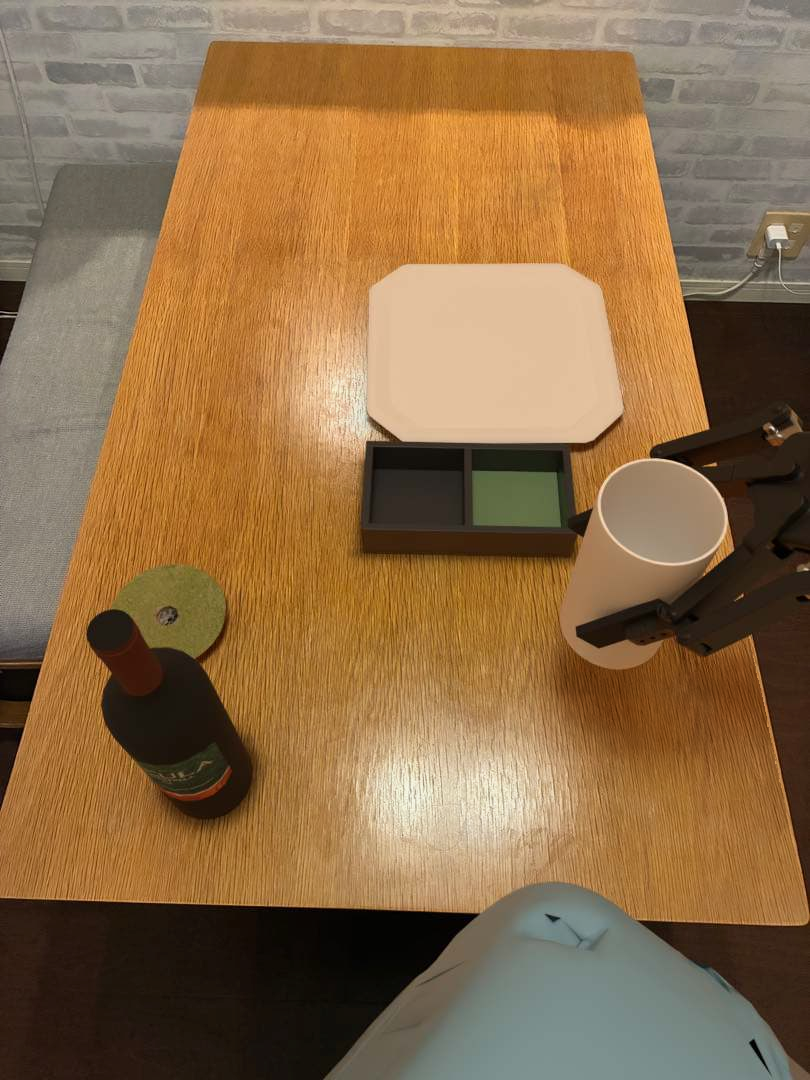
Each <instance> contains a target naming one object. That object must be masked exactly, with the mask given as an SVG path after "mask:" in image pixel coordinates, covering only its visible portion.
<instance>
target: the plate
mask: <svg viewBox="0 0 810 1080" xmlns="http://www.w3.org/2000/svg"><path fill="white" fill-rule="evenodd" d="M606 309H607V308H606V303H605V298H604V293H603V289H602V288H601V286H600V285H599V284H598V283H596V282H595V281H593V280H592V279H590V278H588V277H586V276H585V275H583V274H582V273H580V272H578V271H577V270H575V269H573V268H572V267H570V266H568V265H566V264H564V263H560V262H533V263H532V262H530V263H529V262H527V263H526V262H525V263H524V262H523V263H521V262H520V263H517V262H516V263H510V262H509V263H407V264H403V265H400V266H399V267H398V268H396V269H395V270H393V271H392V272H390V273H389V274H387V275H386V276H385V277H383V278H381V279H380V280H379V281H377V282H376V283H374V284H373V285H371V287H370V288H369V291H368V321H367V325H368V326H367V364H366V365H367V366H366V369H367V370H366V372H367V373H366V409H365V411H366V413H367V415H368V417H369V418H370V419H371V420H372V421H374V422H375V423H376V424H377V425H379V426H380V427H381V428H383V429H384V430H385V431H386V432H387V433H389V434H390V435H392V436H393V437H394V438H396V439H397V441H405V442H454V443H503V444H553V445H587V444H590V443H593V442H595V440H597V439H598V438H599V437H600V436H601V435H602V434H603V433H604V432H605V431H606V430H607V429H608V428H610V427H611V426H612V425H613V424H614V423H615V422H616V421H617V420H618V419H620V418H621V417H622V416H623V413H624V410H625V408H624V407H625V406H624V401H623V396H622V390H621V385H620V380H619V373H618V367H617V363H616V357H615V352H614V348H613V342H612V335H611V331H610V326H609V320H608V314H607V310H606Z"/></svg>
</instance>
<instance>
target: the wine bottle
mask: <svg viewBox="0 0 810 1080" xmlns="http://www.w3.org/2000/svg"><path fill="white" fill-rule="evenodd" d="M86 628H87V629H86V632H85V635H86V641H87V642H88V644H89V647H90V648H91V650H92V652H93V653H94V654H95V655H96V657H97V658H98V659H99V660H101V661H102V662H103V664H104V665H105V666H106V668H107V669H108V671H109V672H110V673H111V674H110V675H109V677H108V679H107V681H106V683H105V685H104V687H103V691H102V696H101V704H100V707H101V712H102V718H103V721H104V724H105V726H106V728H107V729H108V731H109V733H110V735H111V736H112V738H113V739H114V741H116V742H117V743H118V744H119V746H120V747H121V748H122V749H123V750H124V751H125V753H127V755H128V756H129V757H130V758H131V759H132V760H133V761H134V762H135V764H137V766H138V767H139V768H140V769H141V770H142V771H143V772H144V774H145V775H146V776H147V777H148V778H149V779H150V780H151V781H152V782H153V783H154V784H155V785H156V786H157V788H158V789H159V790H160V791H161V792H162V793H163V795H164V796H166V798H167V799H168V800H169V801H170V802H171V803H172V804H173V806H174V807H175V808H176V809H177V810H179V811H180V812H182V813H183V814H184V815H186V816H187V817H190V818H193V819H197V820H201V821H202V820H215V819H218V818H220V817H221V818H222V817H224V816H226V815H228V814H229V813H231V812H232V811H233V810H234V809H237V808H238V807H239V806H240V804H241V803H242V802H243V800H244V799H245V798H246V797H247V795H248V794H249V791H250V789H251V788H250V787H251V785H252V782H253V771H254V768H253V764H252V760H251V756H250V755H249V752H248V750H247V749H246V746H245V744H244V743H243V741H242V739H241V737H240V735H239V733H238V731H237V729H236V727H235V725H234V723H233V721H232V719H231V716H230V715H229V714H228V711H227V709H226V707H225V706H224V703H223V702H222V699H221V697H220V696H219V694H218V692H217V690H216V688H215V686H214V684H213V682H212V680H211V677H210V676H209V674H208V673H207V671H206V670H205V669H204V667H203V666H202V664H201V663H200V662H199V661H198V660H197V659H196V658H195V659H194V658H193V657H191V656H190V655H188V654H187V653H185V652H184V651H181V650H177V649H173V648H170V647H159V648H149V646H148V645H147V643H146V641H145V640H144V638H143V636H142V635H141V631H140V629H139V628H138V626H137V624H136V623H135V621H134V620H133V619H132V618H131V617H130V616H129V615H128V614H127V613H126V612H124V611H121V610H118V609H111V608H110V609H107V610H102V611H101V612H99V613H98V614H96V615H95V616H94V617H93V618H92V619H91V620H90V621H89V623H88V625H87V627H86Z"/></svg>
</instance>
